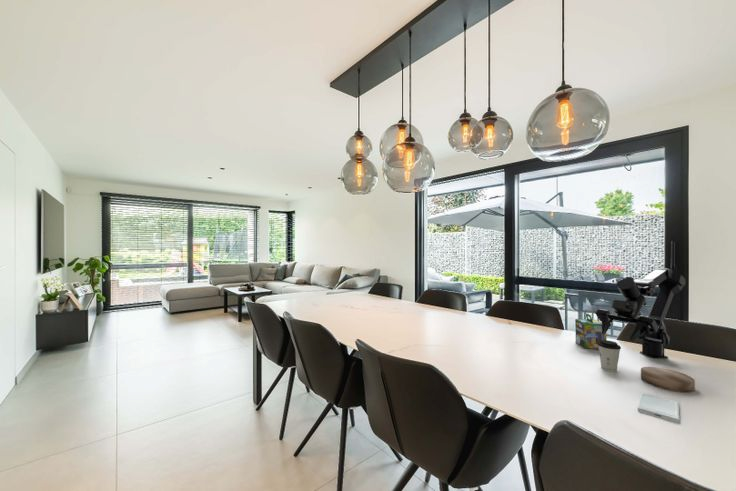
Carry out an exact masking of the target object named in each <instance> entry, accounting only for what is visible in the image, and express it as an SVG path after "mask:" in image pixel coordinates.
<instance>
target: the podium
mask: <svg viewBox="0 0 736 491" xmlns="http://www.w3.org/2000/svg"><path fill="white" fill-rule="evenodd" d="M640 380H642V381H643V382H644V383H647V385H651V386H654V387H657V388H659V389H662V390H666V391H671V392H677V393H692V392H694V391H695V390H696V388H695V385H696V384H695V382H696V380H695V378H693V377H692V376H690V375H688V374H686V373H684V372H681V371H677V370H674V369H669V368H665V367H658V366H642V367H641V368H640Z"/></svg>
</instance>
